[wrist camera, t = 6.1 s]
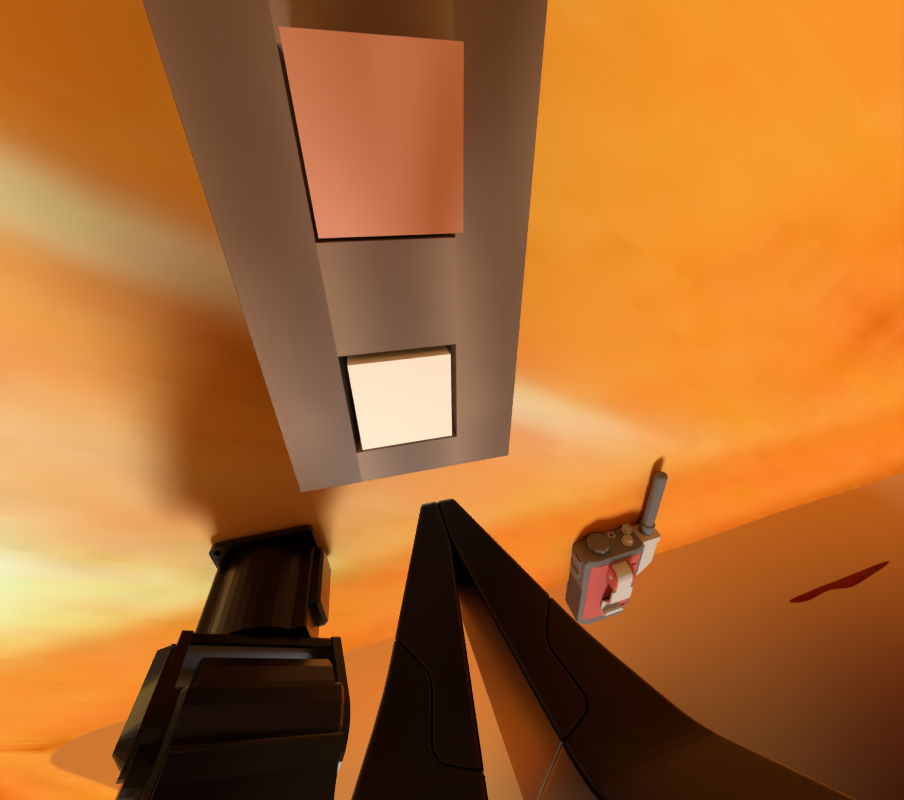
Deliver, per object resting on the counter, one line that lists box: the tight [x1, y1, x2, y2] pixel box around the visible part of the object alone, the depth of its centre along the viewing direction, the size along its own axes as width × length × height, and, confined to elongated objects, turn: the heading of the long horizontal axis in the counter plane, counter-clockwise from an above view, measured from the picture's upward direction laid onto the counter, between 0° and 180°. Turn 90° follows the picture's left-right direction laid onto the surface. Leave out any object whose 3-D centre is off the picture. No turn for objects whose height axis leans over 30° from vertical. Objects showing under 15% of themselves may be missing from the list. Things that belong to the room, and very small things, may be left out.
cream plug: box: [347, 345, 452, 450], centre depth 17 cm, size 4×4×6 cm
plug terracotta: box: [278, 26, 464, 238], centre depth 11 cm, size 4×4×6 cm
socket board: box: [143, 0, 547, 493], centre depth 13 cm, size 10×25×6 cm, turn 1°
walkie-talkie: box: [565, 471, 668, 624], centre depth 34 cm, size 9×4×20 cm
